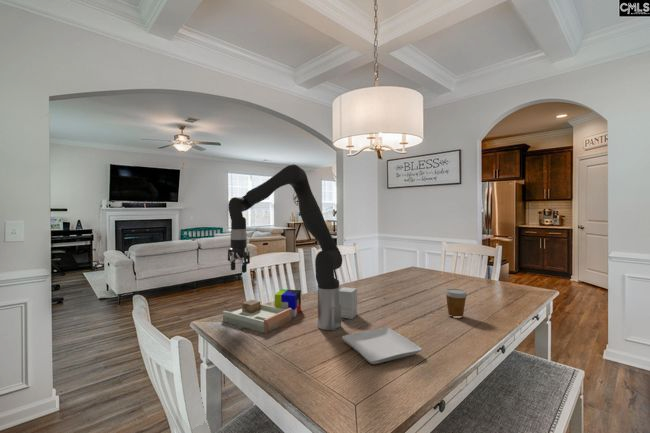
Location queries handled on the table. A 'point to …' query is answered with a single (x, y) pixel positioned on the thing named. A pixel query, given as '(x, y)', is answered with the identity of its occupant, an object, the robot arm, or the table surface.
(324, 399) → the table surface
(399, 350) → the salad plate
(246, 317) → the box
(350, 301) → the supplement box
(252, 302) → the walnut block
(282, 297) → the puzzle toy
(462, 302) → the disposable coffee cup
